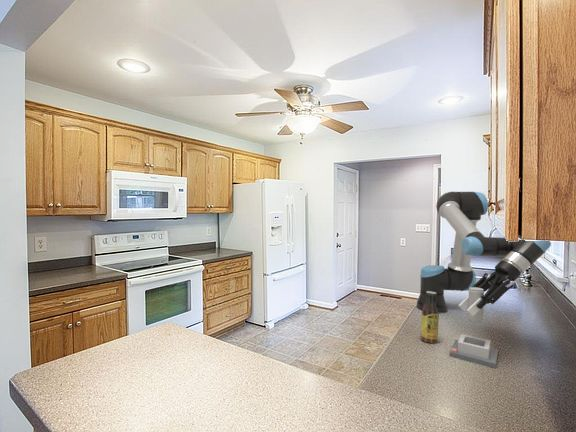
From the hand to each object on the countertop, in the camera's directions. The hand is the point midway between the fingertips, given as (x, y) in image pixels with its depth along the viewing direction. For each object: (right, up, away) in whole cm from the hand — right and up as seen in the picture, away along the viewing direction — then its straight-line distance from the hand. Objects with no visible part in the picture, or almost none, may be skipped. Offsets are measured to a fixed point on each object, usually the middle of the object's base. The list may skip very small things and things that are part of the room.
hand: (465, 310), depth 114 cm
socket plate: (+3, -16, 0) cm, 17 cm away
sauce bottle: (-8, -16, +12) cm, 22 cm away
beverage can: (+4, -4, 0) cm, 6 cm away
